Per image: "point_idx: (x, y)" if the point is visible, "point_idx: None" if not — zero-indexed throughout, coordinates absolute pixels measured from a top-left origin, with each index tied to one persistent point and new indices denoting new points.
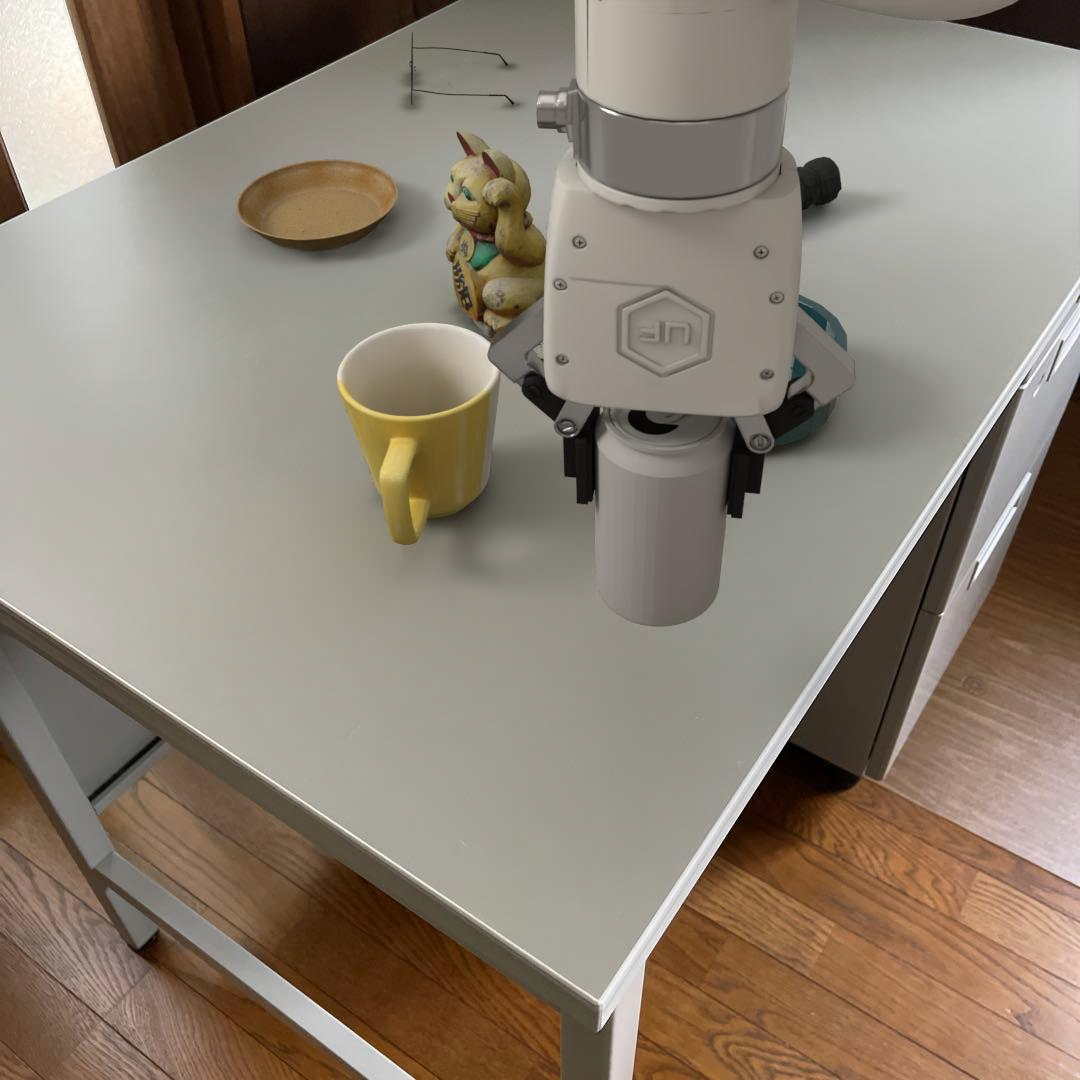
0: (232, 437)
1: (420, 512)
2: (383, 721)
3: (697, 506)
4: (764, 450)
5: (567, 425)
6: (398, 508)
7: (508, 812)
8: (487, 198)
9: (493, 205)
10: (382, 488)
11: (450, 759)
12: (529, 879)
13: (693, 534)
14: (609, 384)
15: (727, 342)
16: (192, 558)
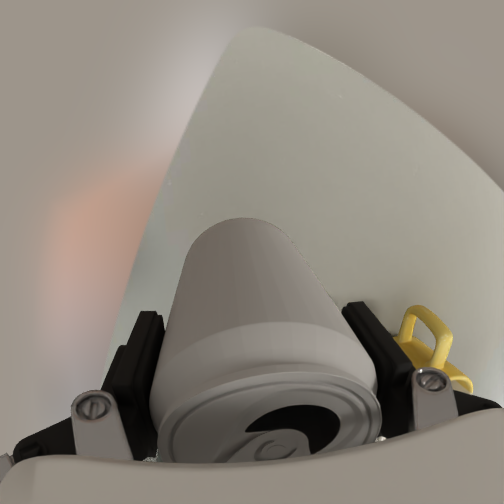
0: (475, 355)
1: (405, 332)
2: (402, 179)
3: (195, 303)
4: (90, 394)
5: (430, 383)
6: (433, 320)
7: (317, 119)
8: None
9: None
10: (448, 328)
11: (360, 155)
12: (295, 76)
13: (200, 276)
14: (463, 481)
15: None
16: (492, 277)
